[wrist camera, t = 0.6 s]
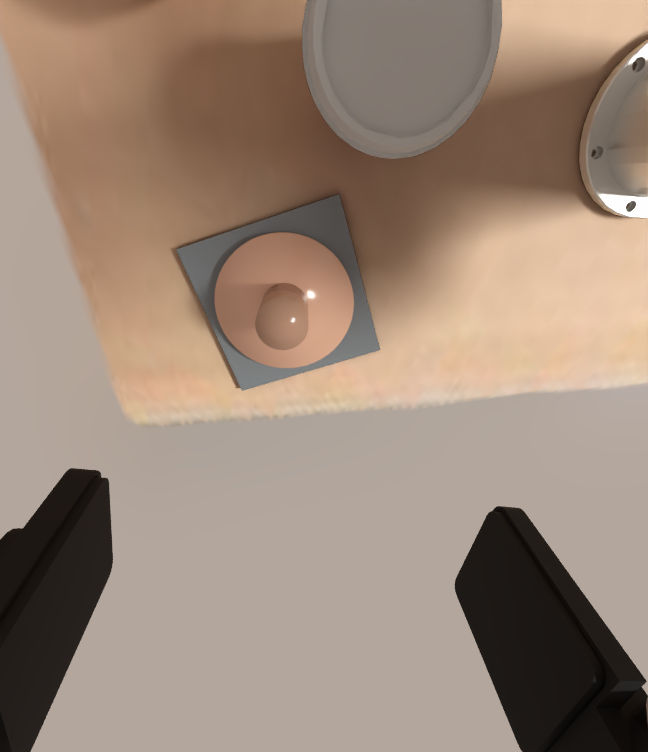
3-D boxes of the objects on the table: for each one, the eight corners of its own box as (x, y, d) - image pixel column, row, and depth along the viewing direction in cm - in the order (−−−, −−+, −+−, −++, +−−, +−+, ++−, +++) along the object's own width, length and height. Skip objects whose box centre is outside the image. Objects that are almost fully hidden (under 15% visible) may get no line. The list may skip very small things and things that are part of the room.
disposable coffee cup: (435, 152, 30) (505, 141, 20) (313, 172, 31) (318, 171, 20) (433, -11, 26) (522, -138, 15) (292, 14, 26) (283, -95, 16)
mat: (338, 194, 31) (339, 194, 31) (379, 347, 38) (380, 349, 37) (178, 248, 33) (175, 249, 32) (242, 387, 39) (241, 390, 39)
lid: (330, 211, 32) (335, 218, 26) (367, 343, 37) (377, 371, 32) (192, 257, 33) (171, 273, 28) (247, 379, 38) (238, 411, 33)
